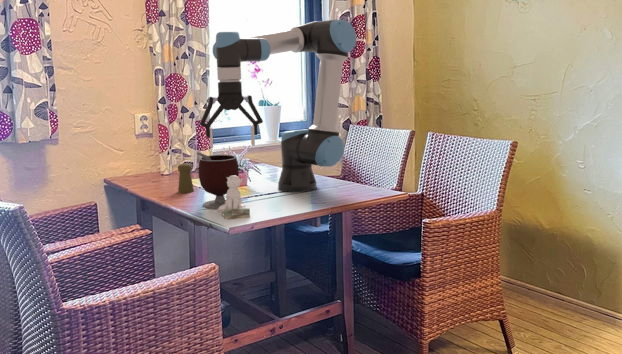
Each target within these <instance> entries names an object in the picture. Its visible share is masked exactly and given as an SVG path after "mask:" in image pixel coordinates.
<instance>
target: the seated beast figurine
mask: <svg viewBox="0 0 622 354" xmlns="http://www.w3.org/2000/svg"><path fill="white" fill-rule="evenodd" d="M226 178H227V180H228V181H227V185H228V187H229V189H228V190H227V194H225V200H226V201H225V204H223V205H221V206H220V207H219V208H218V209H216V210H217V213H218V214H222V215H223V213H225V210H228V209H242V208H247V207H246V205H244V202H243V199H242V195H241V192H240V189H239V187H241V185H242V183H243V180H244V178H243V177H242V178H241V179H240V177H239V176H235V175H232V176H230V177H229V178H228V177H226Z"/></svg>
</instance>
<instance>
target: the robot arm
mask: <svg viewBox="0 0 622 354" xmlns="http://www.w3.org/2000/svg"><path fill="white" fill-rule="evenodd" d="M356 45H357V34H356V31H355V29H354V26H353V24H352V23H350V22H349V21H347V20H345V19H331V20H329V19H328V20H317V21H316V20H315V21H311V22H308V23H305V24H300V25H296V26H291V27H290V28H289V29H288V30H282V31H274V32H267V33H262V34H261V33H260V34H255V35H248V36H241V37H240V33H239V32H238V31H219V32H217V33H216V35H215V42H214V44H213V46H212V55H213V57H214V58H215V60H216V67H217V68H216V70H217V81H218V83H217V90H218V91H217V93H218V95H217V97H214V96H209V97H208V104H207V105H206V107H205V110H204V113H203V115H202V117H201V120H200V122H199V125H200V126H201V127H205V136H206V138H209V147H210V149H214V140H213V139H214V138H213V135H214V134H213V127H212V125H213V123H214V122H215V120H216V119H217V118H218V117H219V115H220V114H221V113H222V112H223V110H225V111H230V110H233V111H236V110H239V111H240V112H241V113H242V114H243V115H244V116H245V117H246V118H247V120H249V121H250V122H251V124H250V138H251V139H250V140H251V142H250V143H251V146H256V145H255V144H256V141H255V140H256V138H255V136H258V132H259V131H258V125H260V124H262V123H263V122H264V121H263V119H262V117H261V115H260V114H259V111H258V108H256V105H254V102H253V97H252V95H250V94H248V95H246V96H244V95H243V91H242V90H243V88H242V81H240V80H241V79H242V69H241V64H242V63H243V62H244V63H245V62H258V63H259V62H265V61H267V60H268V58H269V57H270V56H271V55H275V54H280V53H286V52H292V53H300V52H301V53H302V52H304V53H307V52H308V53H316V57H317V59H319V67H318V76H317V86H316V95H315V96H316V97H315V105H314V111H313V112H314V113H313V122H312V125H310V126H309V128H306V129H305V128H302V129H296V130H286V131H283V132H282V134H281V141H280V145H281V146H280V147H281V149H280V150H281V165H282V166H281V172H280V175H279V179H278V183H277V184H278V185H277V186H278V190H279V191H284V192H291V193H296V192H297V193H299V192H309V191H313V190H316V189H317V180H316V177H315V174H314V171H313V167H312V166H317V167H318V166H319V167H323V168H325V167H328V168H329V167H330V168H331V167H334V166H336V164H338V163H339V162H340V161H341V159H342V157H343V154H344V151H345V144H344V142H343V140H342V138H341V137H340V131H339V129H338V128H337V120H338V119H337V118H338V110H339V104H340V103H339V102H340V95H341V94H340V92H341V84H342V73H343V68H344V67H343V66H344V62H346V61H347V60H348V58H349V53H351V52H352V51H353V50H354V49H355V47H356ZM244 101H245V102H246V103H248V105H249V108H250V109H251V111H252V112H253V114H254V117H255V118H256V120H255V118H253V116H251V114H250V113H249V112H248V111H247V110H246V108H244V107H243V106H242V103H243V102H244ZM216 102H217V103H218V104H219V107H218V108H217V109H216V110H215V111H214V113H213V114H212V115H211V117H210V118H209V119H208V117H209V114H210V112H211V110H212V108H213V105H214V104H216ZM207 119H208V120H207ZM206 121H207V122H206Z"/></svg>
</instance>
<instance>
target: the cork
mask: <svg viewBox="0 0 622 354" xmlns="http://www.w3.org/2000/svg"><path fill="white" fill-rule="evenodd" d="M177 170H178V172H179V177H178V187H177V188H178V190H177V192H178V193H179V194H189V193H194V191H195V190H194V183H193V180H192V179H193V178H192V175H191V172H192V165H191V164H190V163H186V162H185V163H179V165H178V166H177Z"/></svg>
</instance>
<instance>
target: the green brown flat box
mask: <svg viewBox="0 0 622 354" xmlns="http://www.w3.org/2000/svg"><path fill="white" fill-rule="evenodd" d="M250 209H251V208H250V207H246V208H242V209H228V210H225V213H223V214H222V215H223V217H225V218H224V219H227V220H237V219H250V218H251V212H250Z"/></svg>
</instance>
